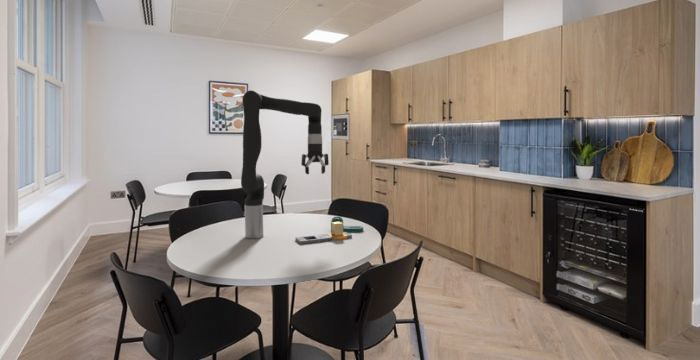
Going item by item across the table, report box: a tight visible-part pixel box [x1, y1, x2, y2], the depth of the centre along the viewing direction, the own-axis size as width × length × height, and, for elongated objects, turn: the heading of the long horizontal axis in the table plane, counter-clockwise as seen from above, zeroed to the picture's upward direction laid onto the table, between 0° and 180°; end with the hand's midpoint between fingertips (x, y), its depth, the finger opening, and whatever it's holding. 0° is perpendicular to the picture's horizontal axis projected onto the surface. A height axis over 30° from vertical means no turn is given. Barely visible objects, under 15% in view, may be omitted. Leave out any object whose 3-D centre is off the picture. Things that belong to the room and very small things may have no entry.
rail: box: [294, 232, 353, 245], centre depth 202 cm, size 8×28×2 cm, turn 116°
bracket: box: [330, 215, 364, 233], centre depth 220 cm, size 18×7×8 cm, turn 91°
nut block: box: [331, 222, 344, 237], centre depth 205 cm, size 4×4×8 cm
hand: (315, 173), depth 206 cm, fingers open, 8 cm apart
